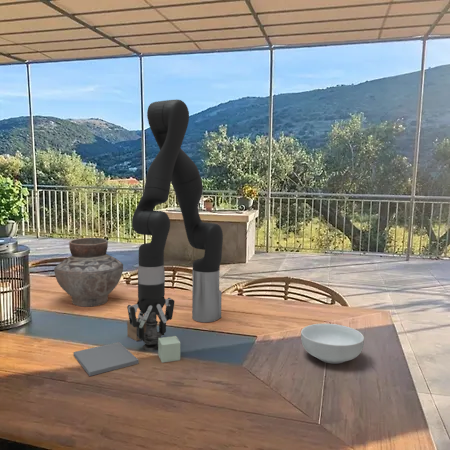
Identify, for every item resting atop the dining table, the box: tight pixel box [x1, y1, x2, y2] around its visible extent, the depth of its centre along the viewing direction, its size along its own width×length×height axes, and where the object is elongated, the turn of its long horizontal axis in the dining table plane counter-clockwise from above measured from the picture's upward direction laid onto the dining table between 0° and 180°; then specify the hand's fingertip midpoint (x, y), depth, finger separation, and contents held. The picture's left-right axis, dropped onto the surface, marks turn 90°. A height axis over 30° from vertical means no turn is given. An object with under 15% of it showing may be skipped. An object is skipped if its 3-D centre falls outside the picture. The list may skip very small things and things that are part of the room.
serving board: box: [73, 341, 140, 377], centre depth 116 cm, size 13×14×1 cm
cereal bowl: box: [300, 323, 365, 364], centre depth 120 cm, size 17×17×7 cm
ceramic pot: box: [53, 237, 124, 308], centre depth 163 cm, size 25×25×24 cm
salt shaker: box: [141, 312, 163, 352], centre depth 124 cm, size 6×6×12 cm
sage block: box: [157, 335, 181, 363], centre depth 118 cm, size 5×5×5 cm
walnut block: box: [126, 317, 147, 342], centre depth 132 cm, size 5×5×5 cm
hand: (151, 336), depth 124 cm, fingers closed on salt shaker, 6 cm apart
